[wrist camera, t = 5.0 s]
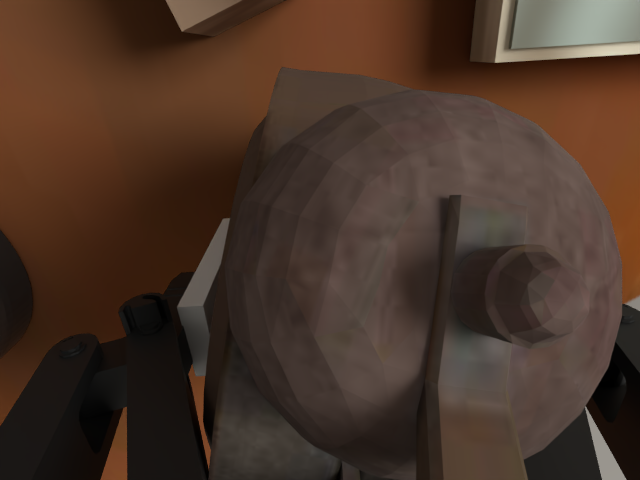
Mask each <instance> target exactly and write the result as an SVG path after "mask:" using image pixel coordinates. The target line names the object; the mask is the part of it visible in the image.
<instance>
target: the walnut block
mask: <svg viewBox="0 0 640 480" xmlns="http://www.w3.org/2000/svg"><path fill="white" fill-rule="evenodd" d="M283 1H285V0H166V2H167V4H168V6H169V8H170V10H171V12H172V13H173V15H174V17H175V19H176V21H177V23H178V25H179V27H180V29H181V31H182V32H188V33H194V34H200V35H206V36H212V37H214V36H216V35H218V34H220V33H222V32H224V31H226V30H228V29H230V28H232V27H234V26H236V25H238V24H240V23H242V22H244V21H246V20H248V19H250V18H252V17H254V16H256V15H258V14H260V13H262V12H264V11H266V10H268V9H270V8H272V7H273V6H275V5H277V4H279V3H281V2H283Z"/></svg>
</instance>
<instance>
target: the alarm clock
mask: <svg viewBox="0 0 640 480" xmlns="http://www.w3.org/2000/svg"><path fill="white" fill-rule="evenodd" d="M621 318H622V261H621V257H620V254H619V250H618V246H617V242H616V238H615V234H614V231H613V227H612V223H611V219H610V215H609V212H608V210H607V209H606V207H605V205H604V203H603V202H602V200H601V198H600V197H599V195H598V193H597V192H596V190H595V188H594V187H593V185H592V183H591V182H590V180H589V178H588V177H587V175H586V173H585V172H584V170H583V168H582V167H581V165H580V164H579V163H578V162H577V161H576V160H575V159H574V158H573V157H572V156H571V155H570V154H568V153H567V152H566V151H565V150H564V149H563V148H562V147H561V146H560V145H559V144H558V143H557V142H556V141H555V140H554V139H552V138H551V137H550V136H549V135H548V134H547V133H546V132H545V131H544V130H543V129H542V128H541V127H540V126H538V125H537V124H535V123H534V122H532V121H530V120H528V119H526V118H524V117H522V116H520V115H517V114H515V113H513V112H511V111H509V110H507V109H505V108H503V107H501V106H498V105H496V104H494V103H492V102H490V101H488V100H486V99H483V98H479V97H476V96H471V95H462V94H452V93H443V92H434V91H425V90H414V89H411V88H408V87H405V86H402V85H399V84H396V83H393V82H389V81H385V80H381V79H376V78H371V77H367V76H362V75H354V74H341V73H329V72H316V71H304V70H297V69H291V68H285V67H282V68H281V69H280V72H279V74H278V77H277V80H276V83H275V86H274V90H273V93H272V97H271V101H270V105H269V109H268V113H267V116H266V117H265V118H264V119H263V120H262V122H261V123H260V124H259V125H258V127H257V128H256V129H255V131H254V133H253V135H252V138H251V140H250V142H249V145H248V149H247V152H246V155H245V158H244V161H243V165H242V169H241V173H240V177H239V181H238V185H237V189H236V193H235V197H234V201H233V206H232V211H231V215H230V220H229V225H228V230H227V235H226V240H225V245H224V250H223V255H222V260H221V266H220V272H219V279H218V285H217V291H216V297H215V304H214V310H213V316H212V323H211V331H210V339H209V347H208V355H207V364H206V375H205V387H204V411H203V423H204V428H205V433H206V436H207V439H208V442H209V446H210V449H211V456H210V465H209V478H208V480H528V478H527V473H526V469H525V465H524V459H526V458H528V457H530V456H532V455H534V454H536V453H537V452H539V451H541V450H543V449H544V448H545V447H546V446H548V445H549V444H550V443H551V442H552V441H553V440H554V439H555V438H556V437H557V436H558V435H559V434H560V433H561V432H562V431H563V430H564V429H565V428H566V427H568V426H569V425H570V424H571V423H572V422H573V421H574V420H575V419H576V418H577V417H578V416H579V415H580V414H581V413H582V411H583V409H584V408H585V406H586V404H587V403H588V401H589V399H590V398H591V396H592V394H593V393H594V391H595V389H596V387H597V386H598V384H599V382H600V381H601V379H602V377H603V376H604V374H605V372H606V371H607V369H608V367H609V363H610V359H611V355H612V352H613V348H614V344H615V340H616V337H617V333H618V329H619V326H620V322H621Z"/></svg>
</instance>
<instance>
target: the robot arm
mask: <svg viewBox="0 0 640 480" xmlns="http://www.w3.org/2000/svg"><path fill="white" fill-rule="evenodd" d="M229 220H230V218H224V219H223V220H222V222H221V224H220V226H219V227H218V229H217V231H216V233H215V235H214V237H213V239H212V241H211V243H210V245H209V247H208V249H207V250H206V252H205V254H204V256H203V258H202V260H201V262H200V264H199V266H198V268H197V270H196V272H185V273H181V274H179V275H178V276H177V277H175V278H174V279H173V280H172V281H171V283H170V284H169V286H168V288H167V290H166V291H165V293H164V294H163V295H162V294H160V293H146V294H141V295H139V296H136V297H133V298H131V299H130V300H128V301H126V302H125V303H124V304H123V305H122V306H121V307H120V309H119V312H118V313H119V315H120V318H121V321H122V324H123V326H124V329H125V332H126V335H127V337H124V338H121V339H118V340H114V341H110V342H106V343H102V344H100V343H99V341H98V339H97V337H96V336H95V335H92V334H89V333H88V334H78V335H74V336H70V337H68V338H66V339H64V340H62V341H60V342H59V343H57V344H56V345H54V346H53V347H52V348H51V349H50V350H49V351H48V353H47V354H46V355H45V357H44V359H43V360H42V362H41V363H40V365H39V366H38V368H37V370H36V371H35V373H34V374H33V376H32V377H31V379H30V381H29V382H28V384H27V385H26V387H25V388H24V390H23V392H22V393H21V395H20V396H19V398H18V399H17V401H16V403H15V404H14V406H13V407H12V409H11V410H10V412H9V414H8V415H7V417H6V418H5V420H4V421H3V423H2V425H1V426H0V480H100V479H101V476H102V473H103V470H104V467H105V464H106V460H107V457H108V454H109V451H110V448H111V445H112V442H113V439H114V435H115V432H116V429H117V426H118V423H119V420H120V417H121V414H122V411H123V408H124V407H127V480H208V478H209V469H208V465H207V460H206V455H205V450H204V445H203V440H202V435H201V431H200V426H199V421H198V416H197V411H196V406H195V401H194V397H193V392H192V387H191V382H190V379H189V375H188V373H189V371H190V368H191V365H192V364H193V368H194V372H195V375H196V376H205V375H206V364H207V355H208V347H209V339H210V331H211V323H212V316H213V310H214V304H215V297H216V291H217V285H218V279H219V272H220V266H221V260H222V255H223V250H224V245H225V240H226V235H227V230H228V225H229ZM32 305H33V301H32V291H31V286H30V282H29V279H28V276H27V273H26V270H25V268H24V266H23V264H22V262H21V260H20V258H19V256H18V254H17V253H16V251H15V249H14V248H13V246H12V245H11V243H10V242H9V241H8V239H7V238H6V237H5V235H4V234H3V233H2V232H1V231H0V358H1V357H2V356H3V355H4V354H6V353H7V352H8V351H9V350H10V349H11V348H12V347H13V346H14V345H15V344H16V343H17V342H18V341H19V340H20V339H21V337H22V336H23V334H24V333H25V331H26V329H27V327H28V325H29V322H30V319H31V315H32ZM586 407H587V409H588V411H589V413H590V414H591V416H592V418H593V420H594V422H595V424H596V425H597V427H598V429H599V431H600V433H601V434H602V436H603V438H604V440H605V441H606V443H607V445H608V447H609V449H610V451H611V452H612V454H613V456H614V458H615V459H616V461H617V463H618V465H619V467H620V469H621V470H622V472H623V474H624V476H625V478H626V479H627V480H640V311H638V310H636V309H634V308H632V307H630V306H628V305H625V304H622V318H621V322H620V326H619V329H618V333H617V337H616V340H615V344H614V348H613V352H612V355H611V359H610V363H609V367H608V369H607V371H606V372H605V374H604V376H603V377H602V379H601V381H600V382H599V384H598V386H597V387H596V389H595V391H594V393H593V394H592V396H591V398H590V399H589V401H588V403H587V404H586ZM524 465H525V469H526V473H527V478H528V480H602V478H601V474H600V470H599V465H598V461H597V457H596V453H595V449H594V445H593V440H592V436H591V432H590V427H589V423H588V419H587V414H586V410H585V408H584V409H583V411H582V413H581V414H580V415H579V416H578V417H577V418H576V419H575V420H574V421H573V422H572V423H571V424H570V425H569V426H568V427H566V428H565V429H564V430H563V431H562V432H561V433H560V434H559V435H558V436H557V437H556V438H555V439H554V440H553V441H552V442H551V443H550V444H549V445H548V446H546V447H545V448H544V449H543V450H541V451H539V452H537V453H536V454H534V455H532V456H530V457H528V458H526V459H524Z"/></svg>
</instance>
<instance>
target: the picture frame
mask: <svg viewBox="0 0 640 480" xmlns="http://www.w3.org/2000/svg"><path fill="white" fill-rule="evenodd" d="M628 54H640V0H476V5H475V15H474V24H473V34H472V43H471V53H470V61H471V62H489V63H500V62H516V61H532V60H548V59H564V58H580V57H596V56H612V55H628Z"/></svg>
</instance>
